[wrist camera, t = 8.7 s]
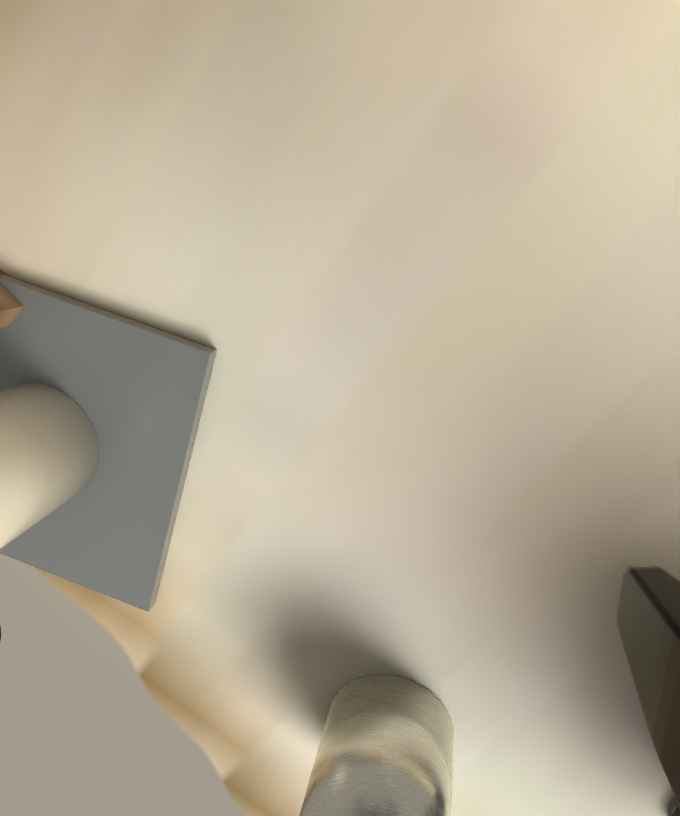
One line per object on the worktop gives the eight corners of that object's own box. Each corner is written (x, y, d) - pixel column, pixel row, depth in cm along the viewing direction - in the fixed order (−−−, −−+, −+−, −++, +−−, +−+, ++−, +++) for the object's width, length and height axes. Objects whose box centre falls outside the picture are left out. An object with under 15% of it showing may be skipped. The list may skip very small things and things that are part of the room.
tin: (472, 703, 25) (472, 849, 19) (428, 795, 27) (417, 953, 21) (349, 655, 25) (314, 784, 20) (313, 748, 27) (272, 891, 21)
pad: (216, 349, 23) (210, 353, 22) (155, 603, 26) (148, 611, 26) (-66, 249, 23) (-79, 250, 23) (-87, 508, 27) (-99, 514, 27)
